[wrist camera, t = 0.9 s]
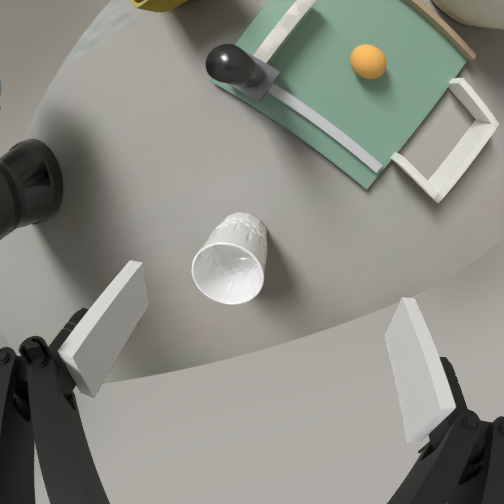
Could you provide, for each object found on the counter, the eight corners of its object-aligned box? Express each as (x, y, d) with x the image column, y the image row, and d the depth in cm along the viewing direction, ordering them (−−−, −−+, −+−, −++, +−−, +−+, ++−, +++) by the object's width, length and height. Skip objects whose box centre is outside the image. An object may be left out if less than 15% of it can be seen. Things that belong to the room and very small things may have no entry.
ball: (340, 64, 27) (345, 60, 23) (359, 41, 25) (367, 34, 22) (368, 86, 28) (377, 85, 24) (387, 63, 26) (398, 59, 22)
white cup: (203, 225, 40) (177, 263, 32) (250, 196, 38) (235, 229, 29) (235, 268, 43) (219, 313, 34) (282, 244, 40) (277, 288, 32)
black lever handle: (223, 79, 29) (183, 70, 18) (290, -9, 22) (285, -59, 12) (260, 101, 30) (240, 102, 19) (329, 13, 23) (345, -29, 12)
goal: (387, 155, 32) (397, 162, 29) (447, 78, 25) (462, 77, 22) (426, 193, 33) (438, 204, 30) (482, 119, 27) (499, 124, 23)
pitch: (212, 81, 31) (205, 80, 28) (321, -53, 19) (323, -63, 17) (364, 186, 35) (369, 193, 32) (466, 56, 23) (476, 55, 21)
